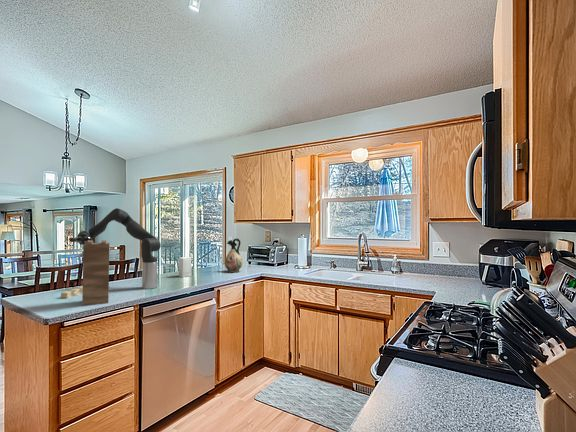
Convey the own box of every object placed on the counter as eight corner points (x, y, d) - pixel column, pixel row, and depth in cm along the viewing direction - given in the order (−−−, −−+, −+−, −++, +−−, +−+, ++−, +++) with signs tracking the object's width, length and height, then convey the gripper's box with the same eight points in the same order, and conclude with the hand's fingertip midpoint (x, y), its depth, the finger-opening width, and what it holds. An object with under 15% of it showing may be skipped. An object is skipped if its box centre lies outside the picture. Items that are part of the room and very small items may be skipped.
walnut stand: (83, 300, 181) (85, 240, 182) (108, 298, 187) (109, 240, 187) (82, 305, 170) (83, 241, 171) (108, 302, 176) (109, 241, 177)
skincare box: (187, 275, 268) (187, 256, 268) (191, 276, 264) (192, 257, 264) (178, 276, 261) (178, 257, 262) (182, 277, 257) (182, 258, 257)
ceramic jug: (222, 272, 282) (222, 238, 283) (227, 270, 298) (228, 237, 298) (241, 273, 280) (241, 238, 281) (245, 270, 295) (246, 238, 296)
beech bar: (89, 289, 212) (89, 284, 212) (94, 289, 212) (94, 284, 212) (60, 299, 186) (61, 292, 186) (66, 299, 186) (67, 292, 186)
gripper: (71, 233, 223) (68, 234, 209) (95, 233, 230) (94, 234, 216) (71, 244, 223) (68, 246, 209) (95, 243, 230) (94, 245, 215)
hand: (81, 240), depth 212 cm, fingers open, 8 cm apart
